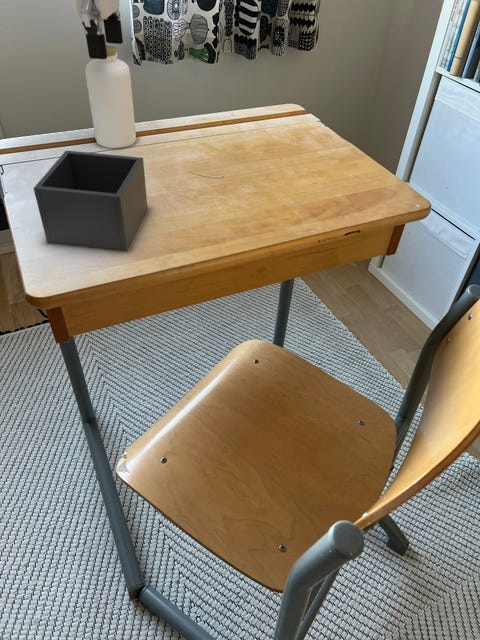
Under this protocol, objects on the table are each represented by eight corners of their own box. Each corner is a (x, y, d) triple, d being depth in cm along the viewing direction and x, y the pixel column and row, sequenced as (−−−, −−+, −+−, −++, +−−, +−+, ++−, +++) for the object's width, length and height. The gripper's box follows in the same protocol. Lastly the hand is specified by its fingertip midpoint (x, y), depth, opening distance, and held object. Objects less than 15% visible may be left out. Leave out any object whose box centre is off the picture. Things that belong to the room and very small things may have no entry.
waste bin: (47, 245, 79) (33, 188, 73) (76, 204, 88) (65, 150, 82) (127, 254, 78) (120, 196, 72) (148, 211, 88) (143, 157, 81)
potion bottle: (139, 135, 110) (131, 43, 98) (132, 152, 104) (122, 56, 92) (101, 133, 110) (88, 41, 98) (91, 149, 104) (76, 53, 92)
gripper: (87, -71, 90) (102, 36, 102) (48, -58, 78) (70, 63, 89) (128, -69, 90) (138, 39, 101) (96, -55, 77) (112, 66, 89)
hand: (106, 50), depth 95 cm, fingers open, 9 cm apart
